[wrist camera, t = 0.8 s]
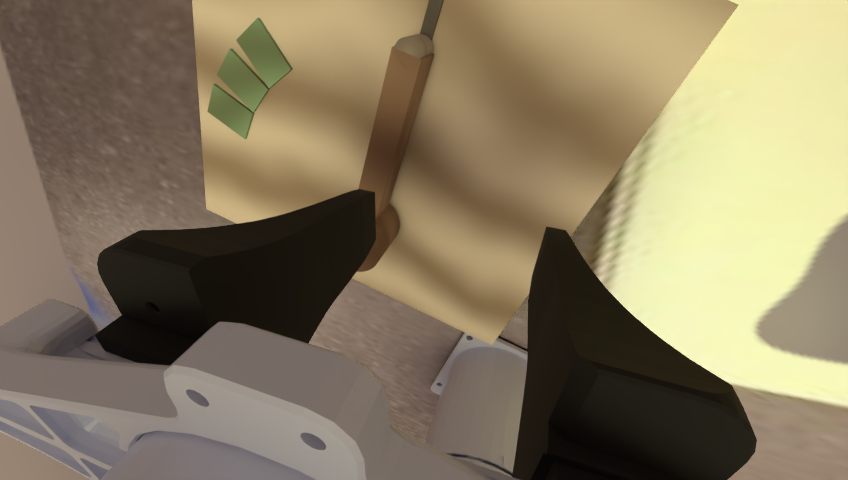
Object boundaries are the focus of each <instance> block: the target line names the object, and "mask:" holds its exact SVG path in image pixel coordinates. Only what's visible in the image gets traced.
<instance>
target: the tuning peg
mask: <svg viewBox="0 0 848 480" xmlns="http://www.w3.org/2000/svg"><path fill="white" fill-rule="evenodd" d="M433 58H434V54H433V44H432V41H431V39H430V38H429V37H428V36H427V35H425V34H416V35H412V36H407V37H403V38H400V39H399V40H398V41H397V42H396V44H395V46H393V47H392V48H391V53H390V57H389V61H388V65H387V70H386V74H385V78H384V82H383V87H382V91H381V95H380V99H379V104H378V108H377V112H376V116H375V121H374V125H373V129H372V133H371V138H370V142H369V146H368V150H367V155H366V159H365V163H364V167H363V172H362V176H361V180H360V184H359V188H358V189H362V190H367V191H372V192H375V215H376V241H375V243H374V244H373V246H372V248H371V250H370V252H369V254H368V256H367V257H366V259H365V261H364V262H363V264H362V265H361V266H360V268H359V269H358V270H357V272H364V271H368V270H371V269H372V268H374V267H375V266H376V265H377V263H378V262H379V260H380V259H381V257H382V256H383V254H384V253H385V252H386V250H387V249H388V247H389V246H390V244H391V243H392V242H393V240H394V239H395V237H396V236H397V234H398V232H399V228H400V222H399V218H398V215H397V213H396V211H395V210H394V208H393V207H392V206H391V205H390V204H389V202H390V199H391V195H392V192H393V189H394V185H395V182H396V179H397V176H398V172H399V169H400V166H401V162H402V159H403V156H404V153H405V149H406V146H407V143H408V140H409V136H410V133H411V130H412V126H413V123H414V120H415V117H416V113H417V110H418V107H419V103H420V100H421V97H422V94H423V90H424V87H425V84H426V81H427V77H428V74H429V71H430V67H431V64H432V61H433Z"/></svg>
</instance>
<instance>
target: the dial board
mask: <svg viewBox="0 0 848 480" xmlns="http://www.w3.org/2000/svg"><path fill="white" fill-rule="evenodd" d="M192 5H193V20H194V34H195V49H196V63H197V78H198V93H199V107H200V122H201V136H202V151H203V166H204V180H205V195H206V209H207V210H210V211H212V212H214V213H216V214H218V215H220V216H222V217H224V218H226V219H228V220H231V221H233V222H235V223H237V224H239V223H246V222H252V221H257V220H262V219H266V218H270V217H275V216H278V215H282V214H286V213H289V212H292V211H295V210H298V209H301V208H304V207H308V206H311V205H314V204H316V203H319V202H322V201H325V200H327V199H330V198H333V197H336V196H338V195H341V194H344V193H347V192H350V191H353V190H357V189H358V188H359V184H360V180H361V176H362V172H363V167H364V163H365V159H366V155H367V150H368V146H369V142H370V138H371V133H372V129H373V125H374V121H375V116H376V112H377V108H378V104H379V99H380V95H381V91H382V87H383V82H384V78H385V74H386V70H387V65H388V61H389V57H390V53H391V48H392V47H393V46H395V44H396V42H397V41H398V40H399V39H400V38H403V37H407V36H412V35H416V34H425V35H427V36H428V37H429V38H430V39H431V41H432V44H433V54H434V58H433V61H432V64H431V67H430V71H429V74H428V77H427V81H426V84H425V87H424V90H423V94H422V97H421V100H420V103H419V107H418V110H417V113H416V117H415V120H414V123H413V126H412V130H411V133H410V136H409V140H408V143H407V146H406V149H405V153H404V156H403V159H402V162H401V166H400V169H399V172H398V176H397V179H396V182H395V185H394V189H393V192H392V195H391V199H390V202H389V204H390V205H391V206H392V207H393V208H394V210H395V211H396V213H397V215H398V218H399V222H400V228H399V232H398V234H397V236H396V237H395V239H394V240H393V242H392V243H391V244H390V246H389V247H388V249H387V250H386V252H385V253H384V254H383V256H382V257H381V259H380V260H379V262H378V263H377V265H376V266H375V267H374V268H372V269H371V270H368V271H364V272H356V273H355V274H354V276H353V277H352V279H354V280H356V281H358V282H360V283H362V284H365V285H367V286H369V287H371V288H373V289H375V290H377V291H379V292H381V293H383V294H386V295H388V296H390V297H392V298H394V299H396V300H398V301H400V302H402V303H404V304H406V305H409V306H411V307H413V308H415V309H417V310H419V311H421V312H423V313H425V314H427V315H430V316H432V317H434V318H436V319H438V320H440V321H442V322H444V323H446V324H448V325H450V326H453V327H455V328H457V329H459V330H461V331H463V332H465V333H467V334H469V335H471V336H474V337H476V338H478V339H480V340H482V341H484V342H486V343H488V344H490V345H492V344H493V343H494V341H495V340H496V339H497V337H498V336H499V335H500V333H501V332H502V330H503V329H504V328H505V326H506V325H507V324H508V322H509V321H510V319H511V318H512V317H513V315H514V314H515V313H516V311H517V310H518V308H519V307H520V306H521V304H522V303H523V301H524V300H525V299H526V297H527V296H528V295H529V292H530V286H531V279H532V274H533V271H534V267H535V264H536V260H537V257H538V253H539V250H540V246H541V243H542V240H543V236H544V233H545V229H546V226H547V227H552V228H557V229H562V230H566V231H567V233H568V234H569V236H570V237H571V235H572V234H573V233H574V231H575V230H576V228H577V227H578V226H579V224H580V223H581V221H582V220H583V219H584V217H585V216H586V215H587V213H588V212H589V210H590V209H591V208H592V206H593V205H594V204H595V202H596V201H597V199H598V198H599V197H600V195H601V194H602V193H603V191H604V190H605V188H606V187H607V186H608V184H609V183H610V181H611V180H612V179H613V177H614V176H615V175H616V173H617V172H618V170H619V169H620V168H621V166H622V165H623V164H624V162H625V161H626V159H627V158H628V157H629V155H630V154H631V153H632V151H633V150H634V148H635V147H636V146H637V144H638V143H639V141H640V140H641V139H642V137H643V136H644V135H645V133H646V132H647V130H648V129H649V128H650V126H651V125H652V124H653V122H654V121H655V119H656V118H657V117H658V115H659V114H660V113H661V111H662V110H663V108H664V107H665V106H666V104H667V103H668V101H669V100H670V99H671V97H672V96H673V95H674V93H675V92H676V90H677V89H678V88H679V86H680V85H681V84H682V82H683V81H684V79H685V78H686V77H687V75H688V74H689V73H690V71H691V70H692V68H693V67H694V66H695V64H696V63H697V61H698V60H699V59H700V57H701V56H702V55H703V53H704V52H705V50H706V49H707V48H708V46H709V45H710V44H711V42H712V41H713V39H714V38H715V37H716V35H717V34H718V33H719V31H720V30H721V28H722V27H723V26H724V24H725V23H726V21H727V20H728V19H729V17H730V16H731V15H732V13H733V12H734V10H735V9H736V8H737V6H738V4H736V3H733V2H730V1H728V0H192Z"/></svg>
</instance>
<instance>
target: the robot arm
mask: <svg viewBox="0 0 848 480" xmlns="http://www.w3.org/2000/svg"><path fill="white" fill-rule="evenodd" d="M375 241H376V215H375V192H372V191H367V190H362V189H357V190H353V191H350V192H347V193H344V194H341V195H338V196H336V197H333V198H330V199H327V200H325V201H322V202H319V203H316V204H314V205H311V206H308V207H304V208H301V209H298V210H295V211H292V212H289V213H286V214H282V215H278V216H275V217H270V218H266V219H262V220H257V221H252V222H246V223H239V224H233V225H227V226H219V227H210V228H198V229H183V230H141V231H138V232H136V233H134V234H132V235H130V236H128V237H126V238H125V239H123V240H121V241H119V242H117V243H115V244H113V245H112V246H110V247H108V248H106V249H104V250H103V251H102V252H101V253H100V254H99V257H98V263H97V265H98V271H99V274H100V276H101V278H102V281H103V283H104V284H105V286H106V288H107V290H108V291H109V293H110V295H111V297H112V298H113V300H114V302H115V304H116V305H117V307H118V309H119V311H120V312H121V314H122V316H120V317H119V318H118V319H116V320H115V321H113V322H112V323H111V324H109V325H108V326H106V327H105V328H104V329H102V330H101V331H98V328H97V326H96V324H95V323H94V321H93V319H92V318H91V317H90V316H89V315H88V314H87V313H86V312H84V311H83V310H82V309H80V308H78V307H75V306H72V305H69V304H66V303H63V302H60V301H57V300H54V299H47V300H45V301H44V302H42V303H41V304H38V305H37V306H35V307H33V308H31V309H30V310H28V311H26V312H25V313H23V314H21V315H19V316H18V317H16V318H14V319H12V320H11V321H9V322H7V323H5V324H4V325H2V326H0V432H1V433H4V434H5V435H8V436H10V437H12V438H14V439H16V440H18V441H20V442H22V443H24V444H26V445H28V446H30V447H32V448H34V449H35V450H38V451H39V452H41V453H43V454H45V455H47V456H49V457H50V458H52V459H54V460H56V461H58V462H60V463H61V464H63V465H65V466H67V467H69V468H70V469H72V470H74V471H76V472H78V473H79V474H81V475H83V476H85V477H86V478H88V479H90V480H727V479H729V478H730V477H731V476H732V475H733V474H734V473H735V472H737V471H738V470H739V469H740V468H741V467H742V466H743V465H745V464H746V463H747V462H748V460H749V459H750V458H751V456H752V455H753V454H754V453H755V448H756V441H757V439H756V437H755V434H754V432H753V429H752V427H751V425H750V422H749V420H748V418H747V415H746V413H745V411H744V408H743V406H742V404H741V402H740V400H739V398H738V396H737V394H736V392H735V391H734V389H733V387H732V385H730V384H729V383H727V382H725V381H724V380H722V379H721V378H719V377H717V376H716V375H714V374H713V373H711V372H709V371H708V370H706V369H704V368H703V367H701V366H700V365H698V364H696V363H695V362H693V361H692V360H690V359H689V358H687V357H686V356H684V355H683V354H681V353H680V352H679V351H677V350H676V349H674V348H673V347H672V346H670V345H669V344H667V343H666V342H665V341H663V340H662V339H661V338H659V337H658V336H657V335H656V334H654V333H653V332H652V331H650V330H649V329H648V328H647V327H646V326H645V325H643V324H642V323H641V322H640V321H639V320H638V319H636V318H635V317H634V316H633V315H632V314H631V313H630V312H629V311H628V310H626V309H625V308H624V307H623V306H622V305H621V303H620V302H619V301H618V300H617V299H616V298H615V297H614V296H613V295H612V294H611V293H610V292H609V291H608V290H607V289H606V288H605V286H604V285H603V284H602V283H601V281H600V280H599V279H598V278H597V277H596V275H595V274H594V273H593V271H592V270H591V269H590V267H589V266H588V264H587V263H586V261H585V260H584V259H583V257H582V255H581V254H580V252H579V251H578V249H577V247H576V246H575V244H574V242H573V241H572V239H571V237H570V236H569V234H568V233H567V231H566V230H562V229H557V228H552V227H547V226H546V229H545V233H544V236H543V240H542V243H541V246H540V250H539V253H538V257H537V260H536V264H535V267H534V271H533V274H532V279H531V286H530V292H529V299H528V352H527V351H525V350H523V349H521V348H519V347H516V346H514V345H512V344H510V343H508V342H506V341H504V340H502V339H500V338H497V339H496V340H495V341H494V343H493V344H492V345H490V344H488V343H486V342H484V341H482V340H480V339H478V338H476V337H474V336H471V335H469V334H467V333H465V332H464V334H463V335H462V337H461V338H460V340H459V342H458V343H457V345H456V346H455V348H454V350H453V351H452V353H451V354H450V356H449V358H448V359H447V361H446V362H445V364H444V366H443V367H442V369H441V370H440V372H439V374H438V375H437V377H436V378H435V380H434V382H433V383H432V385H431V391H432V392H434V393H435V394H438V395H440V397H439V400H438V403H437V406H436V410H435V413H434V416H433V420H432V423H431V426H430V429H429V433H428V436H427V439H426V443H425V442H424V441H422V440H420V439H418V438H416V437H415V436H413V435H411V434H409V433H407V432H406V431H404V430H402V429H400V428H398V427H397V426H395V425H393V424H391V423H389V419H388V414H389V402H388V400H387V397H386V394H385V392H384V389H383V386H382V384H381V382H380V380H379V379H378V378H376V377H375V376H374V375H373V374H372V373H371V372H370V371H369V370H368V369H367V368H366V367H365V366H364V365H363V364H361V363H359V362H357V361H355V360H353V359H351V358H349V357H346V356H344V355H342V354H340V353H337V352H333V351H330V350H327V349H324V348H321V347H317V346H314V345H311V344H308V343H309V341H310V339H311V338H312V336H313V334H314V332H315V331H316V329H317V327H318V325H319V324H320V322H321V320H322V319H323V317H324V315H325V314H326V312H327V311H328V309H329V308H330V306H331V305H332V303H333V302H334V301H335V299H336V298H337V297H338V295H339V294H340V293H341V291H342V290H343V289H344V288H345V286H346V285H347V284H348V282H349V281H350V280H351V278H352V277H353V276H354V274H355V273H356V272H357V270H358V269H359V268H360V266H361V265H362V264H363V262H364V261H365V259H366V257H367V256H368V254H369V252H370V250H371V248H372V246H373V244H374V243H375ZM470 336H471V337H470Z"/></svg>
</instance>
